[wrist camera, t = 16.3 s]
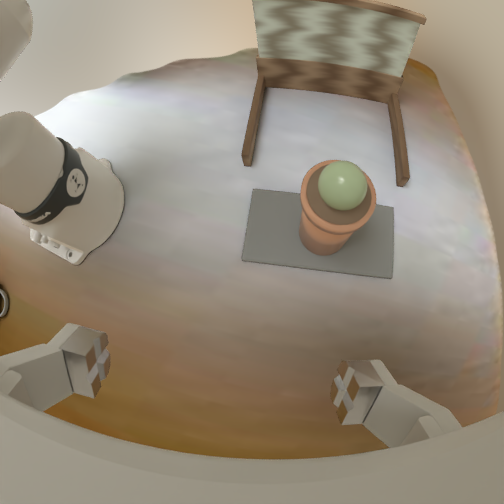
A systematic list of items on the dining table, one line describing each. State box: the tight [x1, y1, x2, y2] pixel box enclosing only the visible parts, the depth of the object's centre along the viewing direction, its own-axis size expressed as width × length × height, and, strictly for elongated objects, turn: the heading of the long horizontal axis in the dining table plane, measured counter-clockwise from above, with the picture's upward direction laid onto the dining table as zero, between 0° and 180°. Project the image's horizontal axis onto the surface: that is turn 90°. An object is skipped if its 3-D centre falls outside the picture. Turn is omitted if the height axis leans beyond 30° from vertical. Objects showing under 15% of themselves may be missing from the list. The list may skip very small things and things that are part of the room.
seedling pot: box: [299, 160, 376, 256], centre depth 29 cm, size 7×7×16 cm
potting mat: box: [242, 189, 394, 279], centre depth 37 cm, size 20×10×1 cm, turn 81°
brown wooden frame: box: [241, 0, 426, 187], centre depth 32 cm, size 24×18×20 cm
